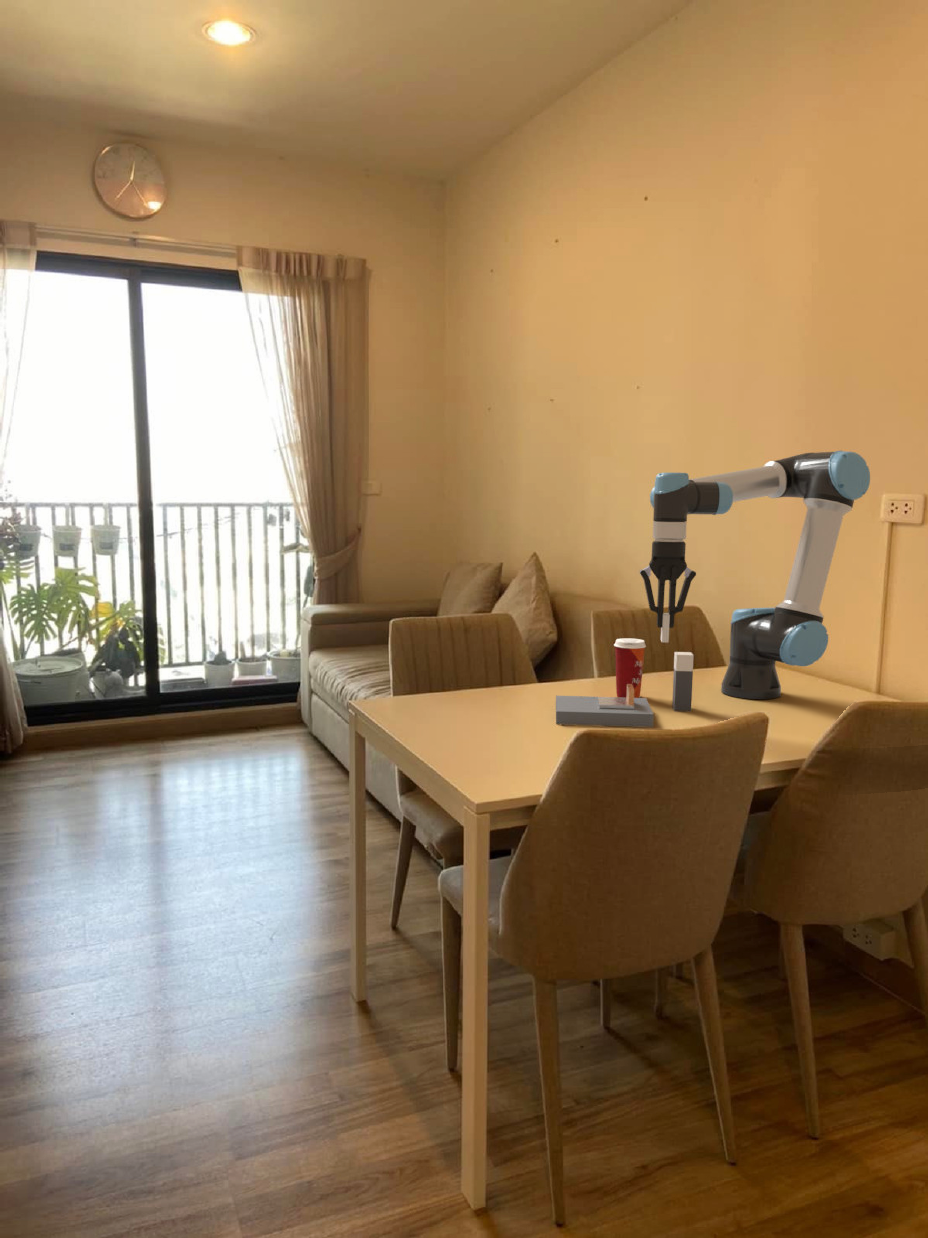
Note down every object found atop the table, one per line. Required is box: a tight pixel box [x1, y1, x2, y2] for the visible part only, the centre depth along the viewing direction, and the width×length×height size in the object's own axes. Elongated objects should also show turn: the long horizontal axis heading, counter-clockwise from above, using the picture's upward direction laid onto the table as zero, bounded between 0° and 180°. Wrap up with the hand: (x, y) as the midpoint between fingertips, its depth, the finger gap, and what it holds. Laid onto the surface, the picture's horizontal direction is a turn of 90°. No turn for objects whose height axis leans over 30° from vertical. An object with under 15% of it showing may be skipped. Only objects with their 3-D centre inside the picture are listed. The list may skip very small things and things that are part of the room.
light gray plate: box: [597, 684, 634, 709], centre depth 211 cm, size 8×8×4 cm
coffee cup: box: [613, 637, 647, 698], centre depth 232 cm, size 8×8×15 cm
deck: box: [555, 695, 654, 728], centre depth 212 cm, size 22×16×3 cm
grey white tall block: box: [671, 651, 695, 712], centre depth 219 cm, size 4×4×14 cm
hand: (664, 641), depth 208 cm, fingers closed
